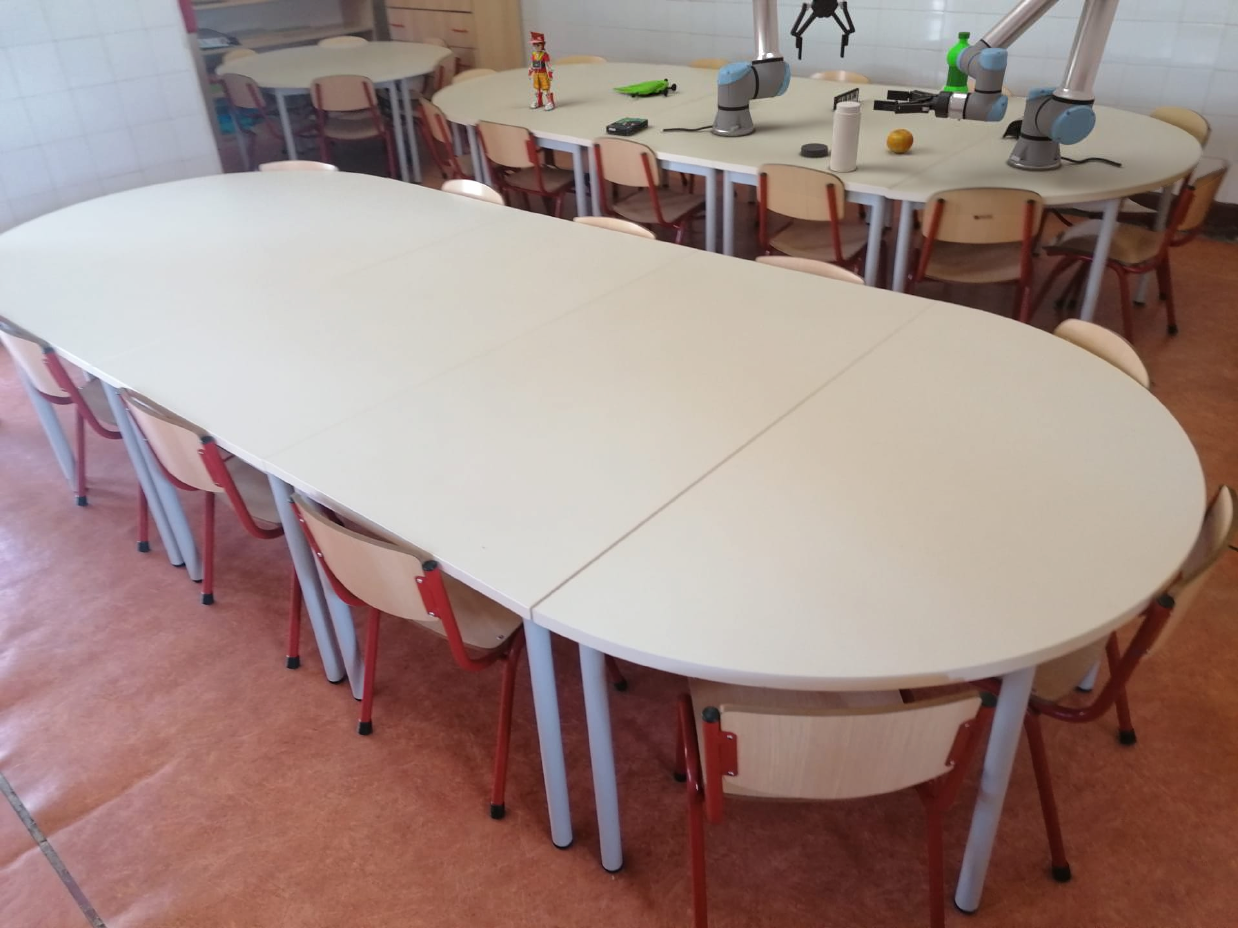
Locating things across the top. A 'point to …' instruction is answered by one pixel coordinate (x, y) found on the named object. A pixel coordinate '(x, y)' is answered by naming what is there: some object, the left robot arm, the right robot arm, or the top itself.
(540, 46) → the toy
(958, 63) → the right robot arm
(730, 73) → the left robot arm
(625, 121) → the disk drive
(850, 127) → the jar
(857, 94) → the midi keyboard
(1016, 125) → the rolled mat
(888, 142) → the fruit
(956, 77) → the plastic bottle
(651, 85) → the toy
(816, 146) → the lid
